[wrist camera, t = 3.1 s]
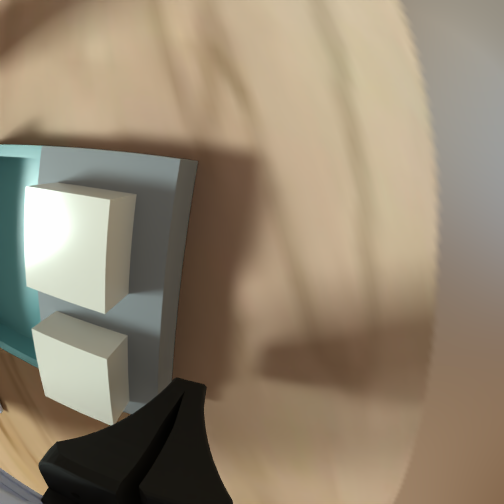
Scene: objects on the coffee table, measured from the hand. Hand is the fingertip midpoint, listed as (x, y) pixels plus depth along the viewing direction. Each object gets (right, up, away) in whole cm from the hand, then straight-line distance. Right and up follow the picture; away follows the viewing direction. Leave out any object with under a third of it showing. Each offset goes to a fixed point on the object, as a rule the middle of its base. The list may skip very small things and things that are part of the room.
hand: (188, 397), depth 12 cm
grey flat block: (-4, +5, +2) cm, 7 cm away
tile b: (-4, +7, -1) cm, 8 cm away
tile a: (-5, +1, +1) cm, 5 cm away
